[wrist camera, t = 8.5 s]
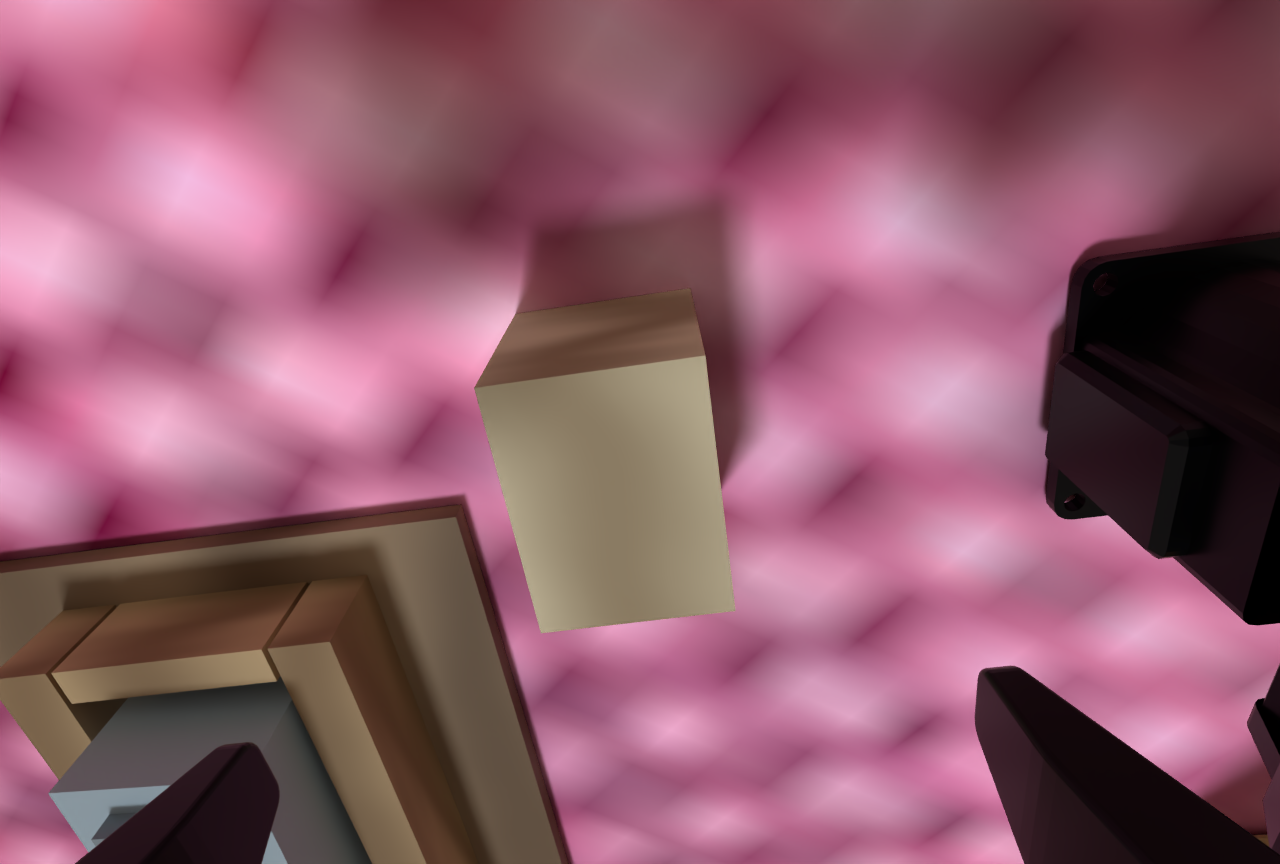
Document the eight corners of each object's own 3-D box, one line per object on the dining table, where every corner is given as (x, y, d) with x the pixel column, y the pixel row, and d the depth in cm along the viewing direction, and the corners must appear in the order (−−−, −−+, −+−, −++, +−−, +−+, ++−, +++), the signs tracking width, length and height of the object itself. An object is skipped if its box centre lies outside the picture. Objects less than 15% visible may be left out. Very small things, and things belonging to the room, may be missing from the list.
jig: (461, 504, 18) (428, 579, 16) (574, 885, 25) (566, 984, 23) (-42, 567, 19) (-157, 648, 17) (200, 918, 26) (148, 1016, 24)
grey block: (327, 636, 20) (231, 805, 15) (413, 865, 24) (360, 1050, 19) (169, 648, 20) (27, 818, 15) (283, 873, 24) (199, 1058, 20)
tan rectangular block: (690, 286, 16) (705, 355, 12) (715, 495, 18) (735, 610, 14) (516, 312, 16) (473, 388, 12) (563, 514, 19) (541, 633, 15)
